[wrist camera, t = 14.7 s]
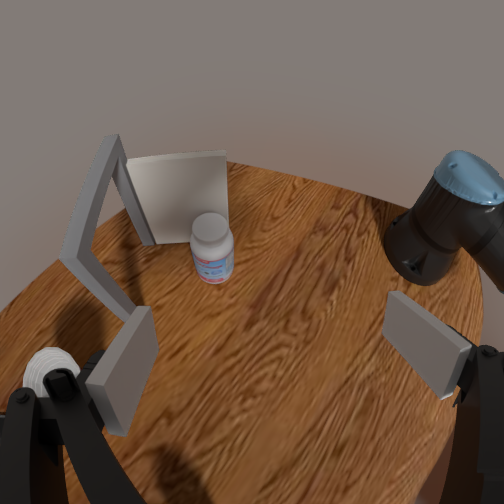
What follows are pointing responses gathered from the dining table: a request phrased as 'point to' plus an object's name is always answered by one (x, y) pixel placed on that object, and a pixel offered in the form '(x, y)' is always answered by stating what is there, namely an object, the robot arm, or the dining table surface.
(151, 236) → the door frame
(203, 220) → the pill bottle
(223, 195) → the door
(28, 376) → the plastic cup
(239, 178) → the dining table surface
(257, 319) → the dining table surface
